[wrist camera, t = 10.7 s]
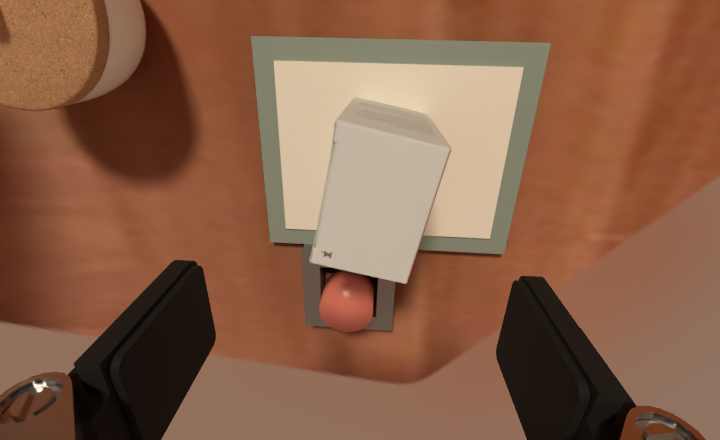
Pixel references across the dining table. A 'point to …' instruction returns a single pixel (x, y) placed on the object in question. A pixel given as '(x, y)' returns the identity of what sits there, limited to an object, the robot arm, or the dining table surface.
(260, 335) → the dining table surface
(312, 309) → the button housing
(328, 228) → the small box
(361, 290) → the red rounded knob
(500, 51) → the board
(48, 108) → the lidded jar
